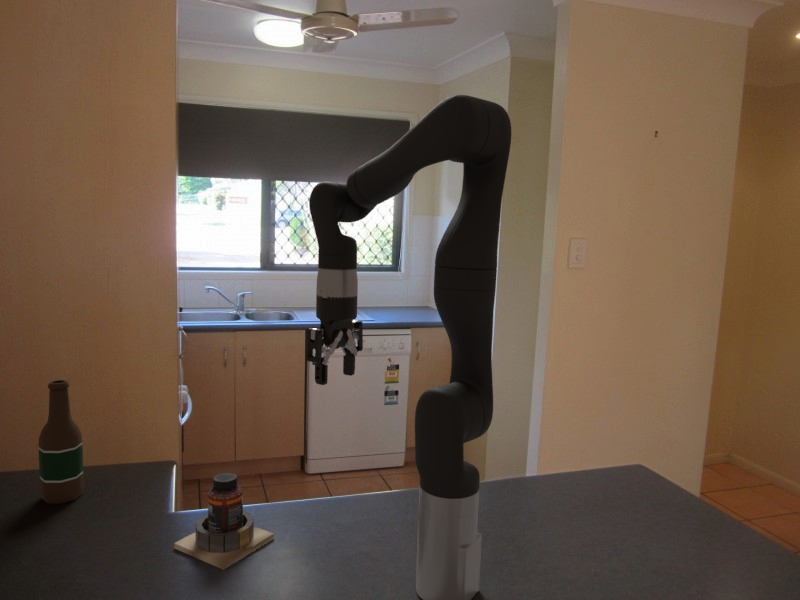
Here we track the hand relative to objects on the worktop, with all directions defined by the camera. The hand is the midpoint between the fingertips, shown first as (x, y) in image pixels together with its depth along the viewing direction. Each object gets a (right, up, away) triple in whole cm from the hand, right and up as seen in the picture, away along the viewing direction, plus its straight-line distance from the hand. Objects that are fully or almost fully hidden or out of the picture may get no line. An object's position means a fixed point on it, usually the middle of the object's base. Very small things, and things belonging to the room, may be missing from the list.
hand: (335, 379), depth 114 cm
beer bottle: (-57, -25, +11) cm, 63 cm away
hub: (-19, -28, -6) cm, 35 cm away
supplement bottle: (-19, -28, -6) cm, 34 cm away
